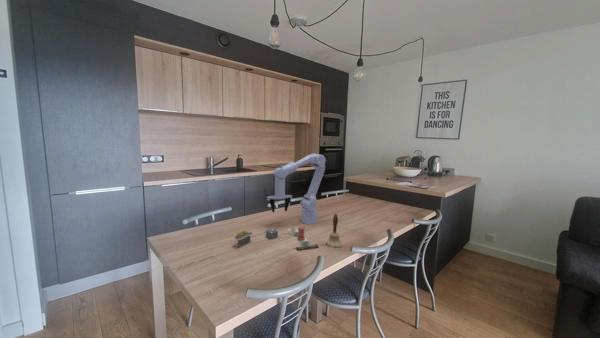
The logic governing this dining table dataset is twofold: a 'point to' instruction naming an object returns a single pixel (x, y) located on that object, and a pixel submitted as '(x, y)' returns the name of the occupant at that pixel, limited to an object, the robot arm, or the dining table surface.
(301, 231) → the pawn
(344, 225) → the dining table surface
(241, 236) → the potted plant
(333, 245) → the hand bell
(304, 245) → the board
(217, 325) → the dining table surface
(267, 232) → the die
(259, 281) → the dining table surface
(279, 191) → the robot arm
